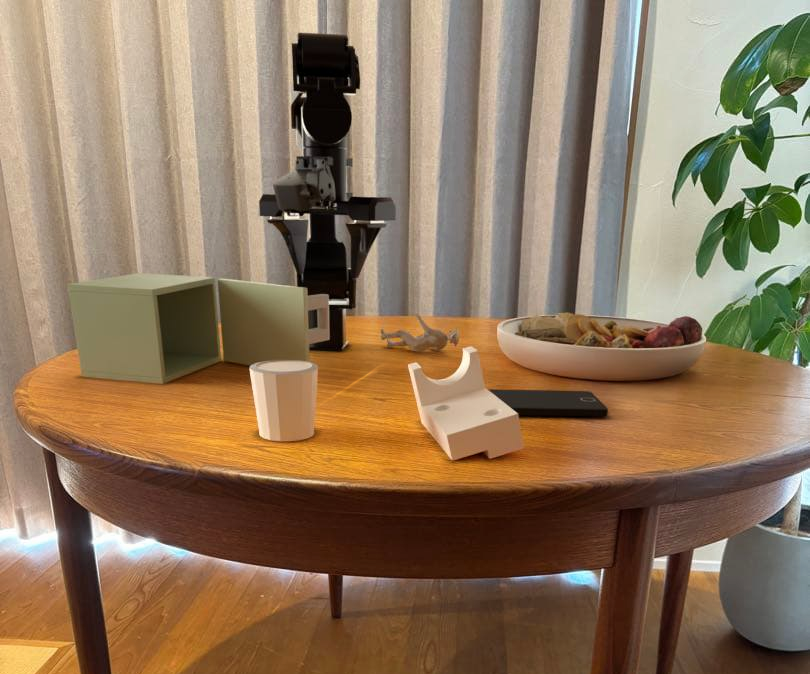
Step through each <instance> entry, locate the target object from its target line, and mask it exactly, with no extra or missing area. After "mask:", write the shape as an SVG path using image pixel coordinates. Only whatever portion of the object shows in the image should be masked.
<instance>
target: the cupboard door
mask: <svg viewBox="0 0 810 674" xmlns="http://www.w3.org/2000/svg"><path fill="white" fill-rule="evenodd" d="M217 291H218V302H219V303H218V304H219V316H220V329H221V331H220V332H221V342H222V343H221V344H222V354H223V362H228V363H233V364H237V365H238V364H239V365H244V366H249V367H250V365H253V364H255V363H259V362H264V361H273V360H298V361H306V362H310V350H309V344H312V343H317V342H322V341H326V340H329V339H330V335H329V301H330V299H329V295H327V294H318V295H311V296H307V288H304V287H297V286H293V285H286V284H285V285H284V284H275V283H266V282H256V281H248V280H247V281H246V280H240V279H239V280H238V279H229V278H217ZM315 309H317V315H318V328H313V329H308V311H309V310H315Z"/></svg>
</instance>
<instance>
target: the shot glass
mask: <svg viewBox="0 0 810 674" xmlns="http://www.w3.org/2000/svg"><path fill="white" fill-rule="evenodd" d="M318 374H319V365H318V364H316V363H314V362H310V361H309V362H306V361H298V360H273V361H264V362H259V363H255V364H253V365H250V366H249V375H250V381H251V382H250V383H251V388H252V394H253V400H254V408H255V414H256V421H257V426H258V433H259V436H260V437H261V438H262V439H265V440H268V441H272V442H273V441H274V442H298V441H304V440H306V439H310V438H311V437H313V436H314V435H315V423H316V407H317V406H316V405H317V392H318V377H319V375H318Z"/></svg>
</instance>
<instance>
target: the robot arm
mask: <svg viewBox="0 0 810 674" xmlns="http://www.w3.org/2000/svg"><path fill="white" fill-rule="evenodd" d="M291 64H292V66H291V67H292V83H291V85H290V88H289V93H290V95H289V96H290V121H291V122H290V123H291V131H295V137H296V138H295V139H296V147H297V148H298V150H299V151H300V152H301V154H302V156H301V155H299V156H296V159H295V162H294V163H295V169H294V171H291V172H288V173H286V174H285V175H283V176H282V177H280V178H278V179H277V180H275V181H273V183H272V187H273V191H274V193H262V195H261V197H260V198H259V200H258V216H259V217H269V218H267V219H266V221H267V222H266V223H268V224H270V225H273V226H274V227H275V229H277V230H278V232H279V233H280V234H281V236H282V238H283V240H284V242H285V244H286V248H287V251H288V252H289V255H290V258H291V262H292V264H293V267H294V269H295V272H296V287H304V288H307V296H311V295H318V294H327V295H329V335H330V339H329V340H326V341H322V342H317V343H312V344H309V351H326V352H327V351H329V352H330V351H331V352H342V351H344V350H345V349H346V348H347V347H348V345H349V341H348V340H347V310H353V309H356V307H357V306H356V305H357V304H356V303H357V302H356V297H357V296H356V295H357V279H359V277H360V275H361V272H362V270H363V267H364V265H365V264H366V263H365V262H366V260H367V258H368V256H369V253H370V251H371V249H372V247H373V244H374V243H375V241H376V239H377V237H378V235H379V233H380V232H381V230H382V228H388V223H387V222H388V221H396V219H397V218H396V217H397V216H396V215H397V207H396V204H395V202H394V200H393V198H392V197H391V196H354V194H353V192H348V168H353V158H350V157H348V153H347V152H348V145H347V144H348V143H347V142H348V141H347V140H348V139H347V137H348V136H347V135H348V134H349V132H350V129H351V126H352V120H353V113H352V109H351V106H350V104H349V102H348V100H347V99H346V96H356V95H357V90H360V89H361V73H360V61H359V56H358V55H357V53H356V48H355V47H354V45H349V37H348V35H347V34H337V33H335V34H334V33H316V32H298V33H296V42H291ZM303 94H305V96H304V95H303ZM335 204H336V205H335ZM304 215H308V218H307V219H306V218H305V219H304V218H300V217H303V216H304ZM336 216H347V217H349V218H350V220H351V221H354V222H347V223H346V222H345V226H346V229H347V231H348V234H349V236H350V267H348V265H349V264H348V252H347V248H346V246H345V243H344V242H343V241H339V240H338V238H337V227H336ZM385 221H386V222H385ZM308 233H309V238H308ZM345 299H346V300H345ZM313 328H318V315H317V309H315V310H309V311H308V329H313Z"/></svg>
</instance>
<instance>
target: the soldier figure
mask: <svg viewBox="0 0 810 674" xmlns="http://www.w3.org/2000/svg"><path fill="white" fill-rule="evenodd" d="M413 316H414V317H416V318H417V320H418V322H419V325H420V326H421V328H422V329H423V331H424V333H423V334H420V335H417V336H416V337H415V336H414V335H413V334H411V333H410V332H408V331H407V330H405V329H399V330H396V331H392V332H387V333H386V331H385V328H381V329H380V333H381V339H380V340H382V341H384V340H386V339H387V340H386V343H387V344H386V349H390V348H393V347H402V348H403V347H404V348H405V347H408V349H410V350H411V351H414V352H417V353H421V352H425V351H427V350H429V349H431V348H433V349H434V350H435V351H436V352H440V351H441V350H443V349H444V348H446V347H447V345H448V342H449V343H450V344H453V345H454V347H455V348H456V347H457V345H458V344H459V341H460V336H459V335H460V334H459V332H458V329H457V328H455V329H453V330H452V331H451V330H449V331H448V334H447V333H446V332H444V331H442V330H440V329H437V328H436V329H435V328H432V327H430V326H429V325H428V324H426V322H425V321H424V319H423V318H422V317H421V315H420V314H419V313H415V314H414V315H413ZM398 338H400V339H402V340H400V341H392V340H391V339H398Z"/></svg>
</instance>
